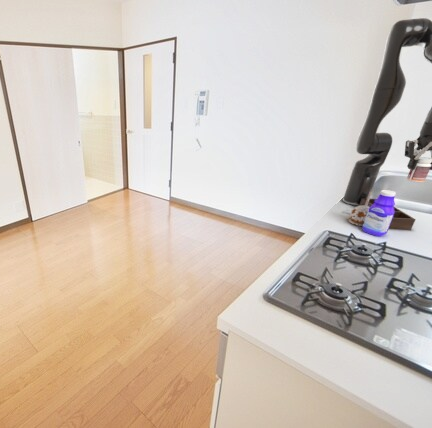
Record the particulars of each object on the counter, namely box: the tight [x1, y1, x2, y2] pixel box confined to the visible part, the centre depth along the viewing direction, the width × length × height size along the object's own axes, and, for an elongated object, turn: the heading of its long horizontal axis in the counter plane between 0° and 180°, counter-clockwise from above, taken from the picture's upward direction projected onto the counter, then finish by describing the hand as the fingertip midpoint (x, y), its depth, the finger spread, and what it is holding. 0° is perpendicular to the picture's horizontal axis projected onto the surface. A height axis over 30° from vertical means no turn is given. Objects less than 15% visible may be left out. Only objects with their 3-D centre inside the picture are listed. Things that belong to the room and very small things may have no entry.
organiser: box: [359, 198, 416, 231], centre depth 120 cm, size 21×8×5 cm, turn 167°
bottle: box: [362, 189, 397, 237], centre depth 106 cm, size 7×6×17 cm
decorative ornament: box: [347, 189, 374, 227], centre depth 114 cm, size 8×8×15 cm
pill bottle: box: [406, 156, 432, 183], centre depth 102 cm, size 5×5×8 cm
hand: (419, 169), depth 102 cm, fingers closed on pill bottle, 4 cm apart
